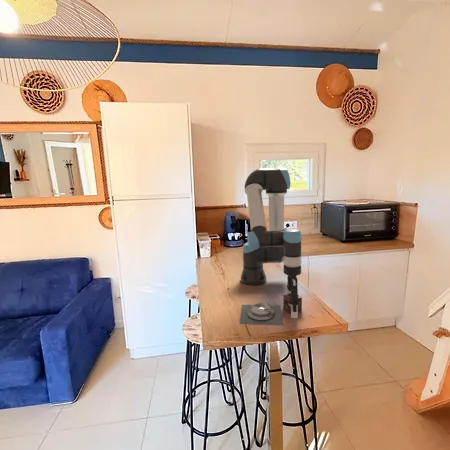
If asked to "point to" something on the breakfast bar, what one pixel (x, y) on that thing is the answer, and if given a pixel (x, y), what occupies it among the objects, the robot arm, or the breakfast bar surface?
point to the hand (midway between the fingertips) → (292, 310)
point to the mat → (274, 321)
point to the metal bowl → (261, 312)
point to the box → (288, 300)
